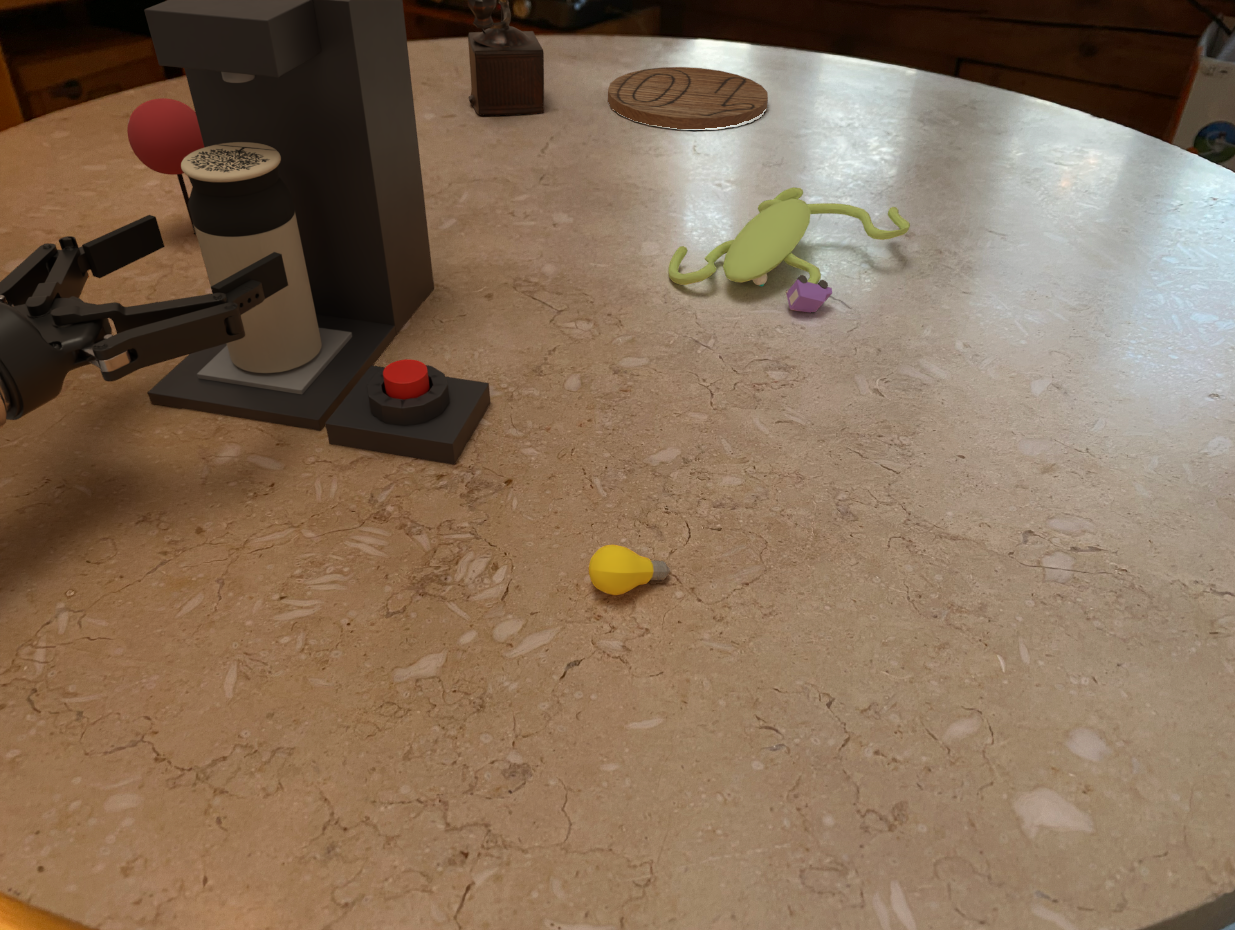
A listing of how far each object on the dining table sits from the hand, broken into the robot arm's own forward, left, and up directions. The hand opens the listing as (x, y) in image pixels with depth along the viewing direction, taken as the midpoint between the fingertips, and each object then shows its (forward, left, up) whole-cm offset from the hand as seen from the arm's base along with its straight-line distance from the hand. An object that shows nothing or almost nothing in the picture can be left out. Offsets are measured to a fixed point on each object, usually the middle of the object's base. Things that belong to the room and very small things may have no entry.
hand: (217, 249), depth 76 cm
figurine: (+45, +37, -13) cm, 60 cm away
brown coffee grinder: (-1, +77, -13) cm, 78 cm away
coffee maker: (+1, +8, -13) cm, 15 cm away
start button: (+16, -2, -10) cm, 19 cm away
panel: (+16, -2, -13) cm, 21 cm away
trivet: (+25, +88, -13) cm, 92 cm away
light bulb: (+38, -16, -13) cm, 43 cm away
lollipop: (-22, +26, -13) cm, 37 cm away
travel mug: (+1, +3, -12) cm, 12 cm away
